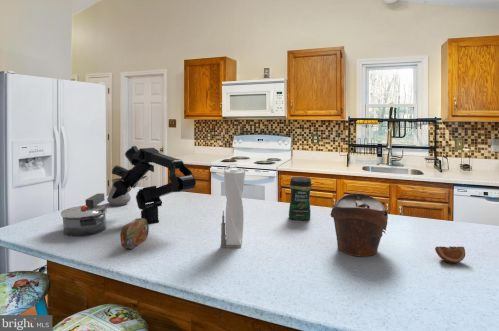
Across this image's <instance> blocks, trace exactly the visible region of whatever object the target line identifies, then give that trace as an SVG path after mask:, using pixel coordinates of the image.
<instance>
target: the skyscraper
mask: <svg viewBox="0 0 499 331" xmlns="http://www.w3.org/2000/svg"><path fill="white" fill-rule="evenodd" d="M231 166H234V168H230V169H229V170H228V171H226V170H227V169H228V168H229V167H231ZM237 166H238V164H237V163H230V164H228V165H227V166H226V167H225V169H224V170H223V177H224V178H223V180H224V190H225V198H226V201H225V202H226V203H225V211H224V210H222V216H221V219H222V220H221V223H220V226H221V227H220V228H221V230H220V234H221V235H220V249H221V248H223V249H241V248H242V244H243V236H244V206H243V200H242V198H243V193H244V185H245V176H246V170H244V169H239V168H237ZM224 213H225V214H224Z"/></svg>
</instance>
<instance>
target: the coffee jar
mask: <svg viewBox="0 0 499 331" xmlns="http://www.w3.org/2000/svg"><path fill="white" fill-rule="evenodd" d="M289 189H290V200H289V201H290V202H289V209H288V217H289V219H291V220H296V221H307V220H309V219H311V190H312V179H311V177H308V176H307V177H306V176H291V177H290V181H289Z"/></svg>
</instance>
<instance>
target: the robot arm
mask: <svg viewBox="0 0 499 331" xmlns="http://www.w3.org/2000/svg"><path fill="white" fill-rule="evenodd" d="M124 156H125V158H126V159H127V160H128V162H129V163H130V164H131V166H133V167H132V168H130V169H127V168H126V167H123V166H121V165H118V164H116V165H114V166H113V168H112V169H111V174H113V175H115V176H118V177H119V178H121V179H122V180H123V181H122V180H117V181H116V182H115V183H114V184H113V183H112V185H113V186H114V187H115V188H116V191H115V192H114V194H113V196H112V198H113V199H115V198H117V197H119V196H122V195H125V194H126V193H129V192H131V191H132V190H131V188H132V189H135V188H136V187H137V186H138V184H139V181H141V180H143V179H144V178H143V177H144V176H146V174H147V173H149V171H150V172H152V173H154V172H155V165H158V166H161V167H163V168H168V170H169V178H168V179H169V181H170V182H169V183H166V184H164V185H160V186H159V187H157V185H152V186H145V187H143V188H140V189H138V191H137V192H136V195H135V200H136V203H137V207H138V209H139V210H140V218H145V219H146V220H147V222H148V224H154V223H159V222H160V219H159V207H162V205H163V201H162V199H161V197H163V196H167V195H171V194H173V193H181V192H186V191H191V190H194V189H196V183H197V181H196V178H195V176H194V174H193V172H192V170H191V169H189V167H187V166H186V164H185V163H184V161H183V160H182V159H180V158H176V157H172V156H169V155H167V154H164V153H161V152H160V151H159V150H158V149H157V148H155V147H145V148H144V147H143V148H138V147H137V146H136V145H133V146H131V148H128V149H127V150H126V151H125V153H124ZM153 164H155V165H153ZM176 170H178V171H179V172H181V173H182V174H183V175H181V176H180V175H179V176H177V175H176ZM142 178H143V179H142Z"/></svg>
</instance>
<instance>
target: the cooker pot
mask: <svg viewBox="0 0 499 331" xmlns="http://www.w3.org/2000/svg"><path fill="white" fill-rule="evenodd" d="M106 217H107V215H106V212H105V213H104V214H101V215H98V216H94V217H89V218H78V219H71V218H64V217H62V225H63V226H62V228H63V235H64V236H67V237H73V238H74V237H75V238H77V237H78V238H79V237H87V236H93V235H97V234H100V233H103V232H104V231H106V230H107V218H106Z"/></svg>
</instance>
